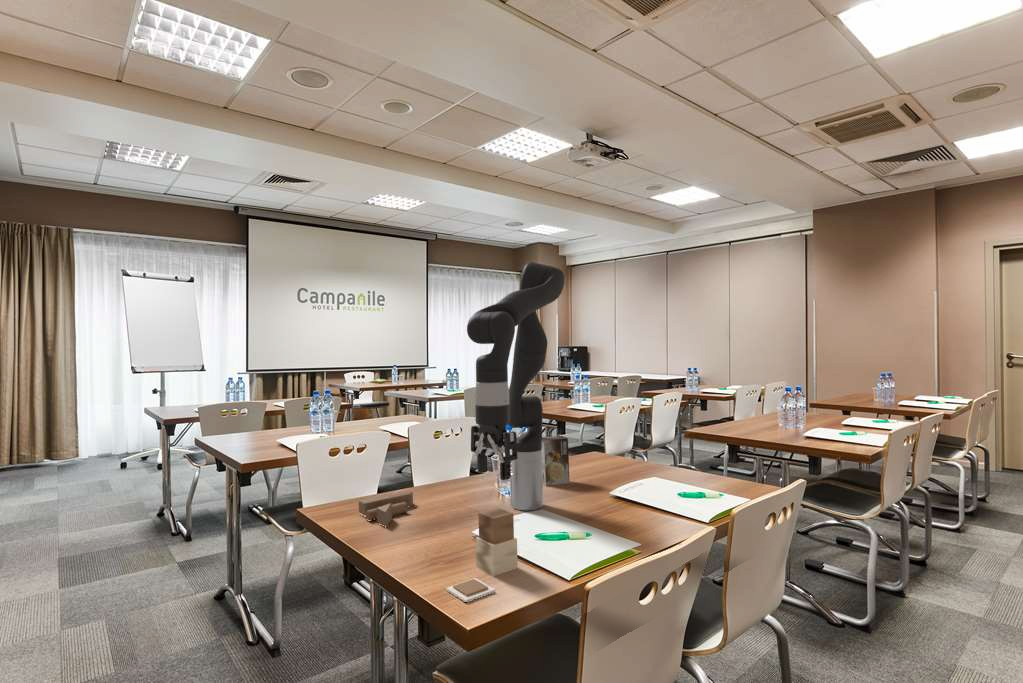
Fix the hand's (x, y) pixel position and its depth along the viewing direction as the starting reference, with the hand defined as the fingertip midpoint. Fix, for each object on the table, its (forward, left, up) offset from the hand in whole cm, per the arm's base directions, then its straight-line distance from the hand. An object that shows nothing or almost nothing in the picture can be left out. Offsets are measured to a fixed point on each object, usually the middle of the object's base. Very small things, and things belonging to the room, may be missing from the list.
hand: (493, 475), depth 118 cm
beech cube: (0, 0, -20) cm, 20 cm away
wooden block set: (-50, +1, -21) cm, 54 cm away
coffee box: (-45, +59, -20) cm, 77 cm away
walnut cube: (0, 0, -14) cm, 14 cm away
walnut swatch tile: (+6, -11, -20) cm, 24 cm away
